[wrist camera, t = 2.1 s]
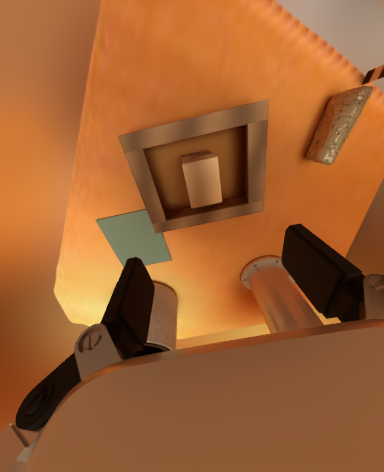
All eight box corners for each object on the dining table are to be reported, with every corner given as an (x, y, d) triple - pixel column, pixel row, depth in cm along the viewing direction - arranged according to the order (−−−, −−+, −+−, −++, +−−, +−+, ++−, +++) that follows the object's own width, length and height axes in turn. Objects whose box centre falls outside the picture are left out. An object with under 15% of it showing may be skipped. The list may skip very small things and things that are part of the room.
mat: (153, 207, 32) (152, 208, 32) (171, 259, 40) (171, 260, 40) (96, 219, 33) (95, 220, 33) (125, 268, 41) (124, 269, 40)
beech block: (207, 149, 27) (217, 156, 20) (212, 184, 31) (222, 202, 23) (181, 155, 28) (181, 164, 20) (188, 189, 31) (191, 208, 23)
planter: (119, 277, 42) (93, 341, 29) (180, 281, 45) (180, 342, 32) (123, 312, 51) (104, 375, 38) (174, 314, 53) (172, 374, 40)
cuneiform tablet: (368, 71, 23) (324, 162, 30) (336, 68, 24) (299, 159, 30) (421, 48, 17) (351, 168, 24) (377, 44, 17) (319, 164, 24)
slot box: (250, 105, 24) (268, 99, 19) (250, 198, 33) (263, 211, 28) (130, 135, 26) (117, 135, 20) (159, 218, 34) (155, 233, 29)
